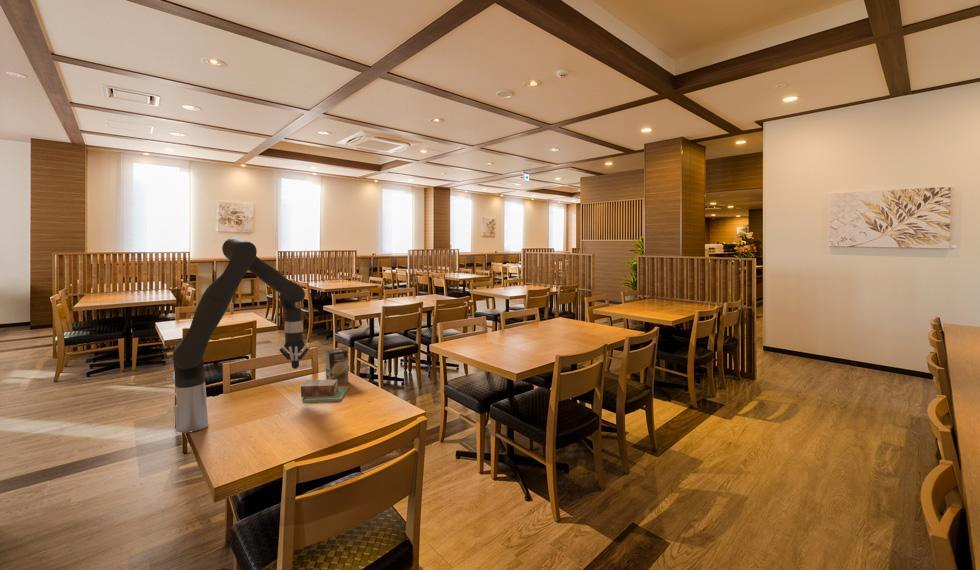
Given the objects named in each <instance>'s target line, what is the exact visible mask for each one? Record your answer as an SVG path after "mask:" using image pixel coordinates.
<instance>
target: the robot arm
mask: <svg viewBox="0 0 980 570" xmlns="http://www.w3.org/2000/svg"><path fill="white" fill-rule="evenodd" d="M221 249H222V254H223V256H224V257H225V258H226V259H228V260H229V261H228V264H227V265H226V267H225V269H224V271H223V272H222V274H220V276H218V277H217V278H216V279H215V280H213V282H211V283H210V284H209V286H207V287H206V289H205V290H204V292H203V294H202V296H201V298H200V300H199V302H198V304H197V306H196V308H195V310H194V314H193V317H192V320H191V324H190V326H189V329H188V331H187V333H186V334H185V336H184V337H183V339H182V340H181V341H180V342H179V343H178V344H176V345H175V346H174V348H173V349H172V350H173V351H172V360H173V371H174V373H173V374H174V375H173V376H174V387H175V388H174V390H175V397H176V398H175V401H176V405H175V406H173V409H174V421H175V432H177V433H178V432H180V433H182V434H186V433H187V434H188V433H189V432H190V431H196V432H198V431H197V430H199V431H201V429H202V430H204V429H206V428H207V427H208V426H209V419H208V418H209V416H208V405H207V400H208V399H207V389H206V377H205V376H206V373H205V364H204V363H205V361H204V355H205V352H206V350H207V346H208V344H209V342H210V339H211V337H212V335H213V333H214V331H215V330H216V328H217V327H218V325H219V323H220V322H221V320H222V318H223V317H224V315H225V314H226V312H227V310H228V308H229V305H230V304H231V301H232V299H233V297H234V295H235V294H236V291H237V289H238V288H239V286H240V284H241V282H242V280H243V279H244V277H245V275H246V273H247V272H248V271H249V272H251V273H252V274H253V275H254V276H256V277H257V278H258V279H259V280H261V281H262V282H263V283H264V284H265V285H267V286H268V287H269V288H271V289H272V290H274V291H275V292H278V293H279V299H280V302H281V305H282V309H283V311H284V340H285V341H284V345H283V346H282V347H281V348H280V349H279V352H280V353H281V354H282V356H283V357H285V359H286V360H290V361H291V362H290V363H291V368H292V370H298V368H299V367H300V360H302V359H303V358H304V357H305V356H306V354H307V353H308V352H309V351H310V349H311V347H310V346H306V344H305V341H304V339H305V337H304V323H303V311H302V308H301V307H300V306H298V305H296V303H300V302H302V301H303V300H304V299H305V297H306V292H305V290H304V289H303V287H302V286H300V285H299V284H297V283H296V282H294V281H292V280H290V279H288V278H286V276H284V275H283V273H281V272H280V271H279V270H277V269H276V268H275V267H273V266H271V265H270V264H268V263H266V262H265V261H263V260H262V259H261V258H259V257H258V256H257V254H258V252H257V251H258V250H257V247H256V245H255V244H254V243H252V242H250V241H248V240H246V239H244V238H240V237H230V238H228V239H226V240H225V241H224V242H223V243H222V247H221ZM301 351H303V352H302V353H301ZM190 433H191V432H190Z"/></svg>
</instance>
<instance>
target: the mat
mask: <svg viewBox="0 0 980 570" xmlns="http://www.w3.org/2000/svg"><path fill="white" fill-rule="evenodd" d="M348 389H349V386H338V390H337V392H336V393H335V395H334V396H322V397H303V398H304V399H303V400H302V402H303V403H317V402H319V403H321V402H340V401H342V399H343V398H344V396H345V395H346V392H347V391H348Z"/></svg>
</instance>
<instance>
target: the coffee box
mask: <svg viewBox="0 0 980 570" xmlns="http://www.w3.org/2000/svg"><path fill="white" fill-rule="evenodd" d="M335 379H338V385H341V384H345V383H349V351H348V350H347V349H345V348H337V349H331V350H325V380H335Z"/></svg>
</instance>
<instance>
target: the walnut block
mask: <svg viewBox="0 0 980 570" xmlns="http://www.w3.org/2000/svg"><path fill="white" fill-rule="evenodd" d="M338 387H339V384H338V379H335V380H326V379H312V380H311V379H308V380H307V379H306V380H305V381H304V382H303V383H302V384H301V385H300V397H301V398H305V397H322V396H334V395H335V393H336V392H337V390H338Z"/></svg>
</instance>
